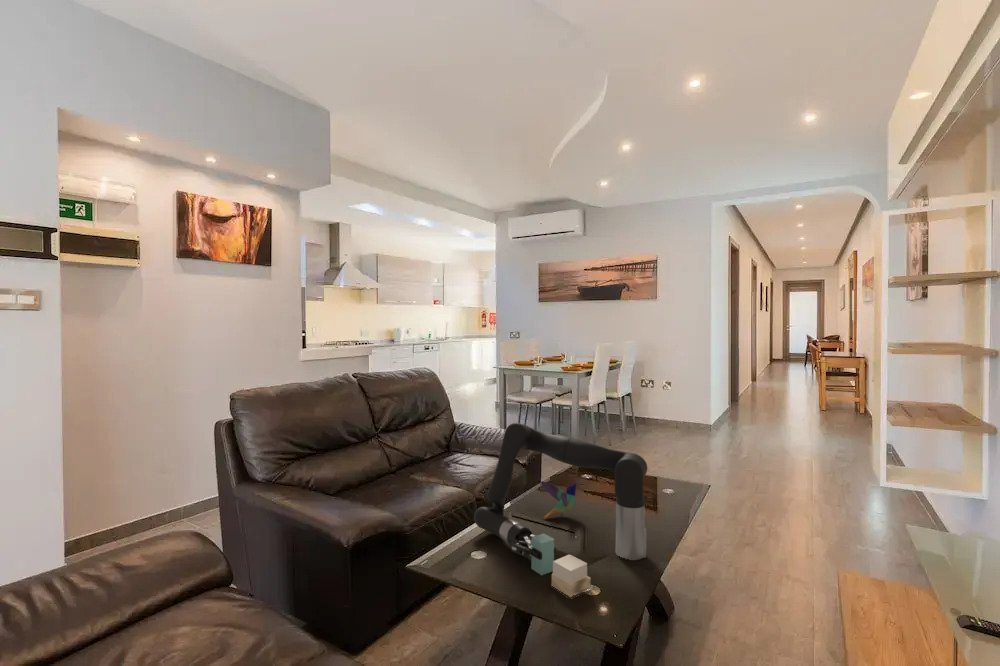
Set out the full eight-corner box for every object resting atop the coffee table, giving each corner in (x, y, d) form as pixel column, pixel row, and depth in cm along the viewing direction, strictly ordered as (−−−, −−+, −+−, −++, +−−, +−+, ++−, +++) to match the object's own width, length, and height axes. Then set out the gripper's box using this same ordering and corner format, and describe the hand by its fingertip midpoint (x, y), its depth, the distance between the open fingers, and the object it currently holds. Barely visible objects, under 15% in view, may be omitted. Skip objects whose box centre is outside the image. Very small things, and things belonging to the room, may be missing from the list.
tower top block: (569, 567, 149) (569, 554, 149) (587, 576, 144) (587, 563, 144) (552, 574, 145) (553, 561, 145) (570, 584, 140) (570, 570, 139)
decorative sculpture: (595, 521, 193) (596, 483, 192) (553, 528, 186) (553, 488, 186) (573, 505, 209) (573, 470, 208) (533, 511, 202) (534, 475, 202)
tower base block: (571, 579, 150) (571, 566, 150) (590, 591, 144) (590, 577, 144) (551, 587, 146) (551, 574, 145) (570, 600, 139) (570, 586, 139)
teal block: (543, 564, 159) (543, 533, 158) (553, 570, 154) (554, 539, 154) (531, 568, 156) (531, 537, 155) (541, 575, 152) (541, 543, 151)
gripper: (498, 528, 162) (530, 548, 148) (532, 518, 171) (565, 536, 157) (497, 550, 163) (530, 572, 149) (531, 539, 171) (565, 559, 157)
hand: (548, 554), depth 153 cm, fingers closed on teal block, 5 cm apart
